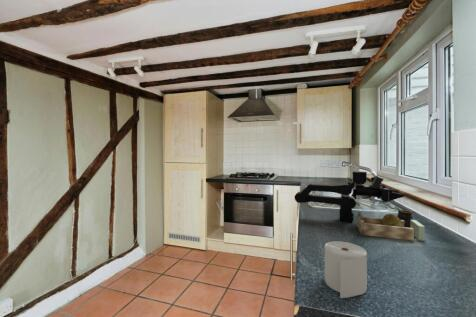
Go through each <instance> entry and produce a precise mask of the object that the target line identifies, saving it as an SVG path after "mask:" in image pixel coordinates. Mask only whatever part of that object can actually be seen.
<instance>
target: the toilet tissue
mask: <svg viewBox="0 0 476 317" xmlns="http://www.w3.org/2000/svg"><path fill="white" fill-rule="evenodd" d="M367 264H368V253H367V250H366V249H365V248H364V247H362V246H359V245H357V244H355V243H352V242H348V241H347V242H346V241H343V240H342V241H341V240H340V241H339V240H338V241H336V240H334V241H333V240H332V241H329V242H326V243H325V244H324V276H323V277H324V283H325V284H326V285H327V287H329V288H330V289H332V290H333V291H336V292H338V293H339V298H340V299H343V298H345V299H346V298H351V297H356V296H361V295H363V294H365V293H366V292H367V290H368V288H367V287H368V286H367V284H368V283H367V280H368V279H367V278H368V265H367Z"/></svg>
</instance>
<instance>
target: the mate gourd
mask: <svg viewBox="0 0 476 317" xmlns="http://www.w3.org/2000/svg"><path fill="white" fill-rule="evenodd" d="M395 208H396V209H397V215H396V216H398V218H399V219H400V220H404V227H407V228H410V220H414V218H413V216H412V213H413V212H412V211H410V210H407V209H406V210H405V209H399V208H398V206H396V207H395Z"/></svg>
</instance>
